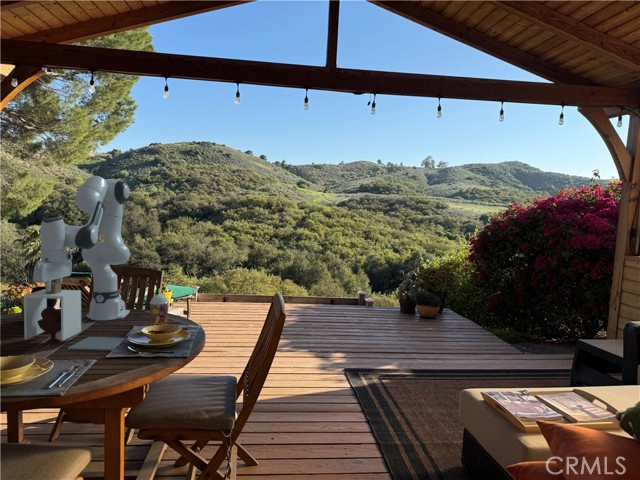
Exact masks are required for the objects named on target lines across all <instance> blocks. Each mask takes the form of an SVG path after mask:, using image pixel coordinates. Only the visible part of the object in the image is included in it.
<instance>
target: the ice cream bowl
mask: <svg viewBox="0 0 640 480" xmlns="http://www.w3.org/2000/svg"><path fill="white" fill-rule="evenodd" d="M41 317H42V318H43V319H41V320H39V321H37V322H38V325H39V327H40V328H41V329H42V330H43V331H45V332H47V334H49V335H50V339H47V340H46V341H45V344H46V345H57V344H60V343H61V342H62V340H61V339H60V338H58V337H57V336H56V335H57V333H59V332H60V331H61V309H56V308H55V306H54V307H47V308H45V309H44V310H43V311H42V312H41Z"/></svg>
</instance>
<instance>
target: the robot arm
mask: <svg viewBox="0 0 640 480" xmlns="http://www.w3.org/2000/svg"><path fill="white" fill-rule="evenodd" d="M130 193H131V192H130V186H129V184H128V183H127V182H125V181H122V180H116V179H105V178H104V177H102V176H99V175H92V176H90V177H88V178H87V179H86V180H85V181H84V182H83V183H82V185H81V186H80V187H79V189H78V191H77V192H76V194H75V196H74V202H75V205H76V207H77V208H78V209H80V210H81V212H84V213H86V214H89V218H88V221H87V223H86V224H84V225H70V224H67V223H65V220H64V219H63V218H62V217H47V218H44V219H43V220H42V221H41V223H40V227H39V228H40V230H39V240H40V244H41V245H40V248H39V250H40V251H39V255H40V256H39V257H40V259H38V260H37V262H36V263H35V265H34V267H33V279H32V280H33V281H34V283H37V284H38V283H40V284H41V283H43V286H45V287H46V291H47V292H50V291H52V290H53V287H51V284H50V283H51V282H52V281H54V280H55V282H58V283H61V284H62V283H63V278H65V277H66V278H67V277H69V276H71V275H72V272H73V270H72V269H73V263H72V260H73V254H72V253H69V252H67V251H66V248H70V249H71V248H72V249H73V248H74V249H77V248H78V249H82V250H81V258H82V259H83V260H84V261H85V262H86V263H87V264H88V265H89V266H88V267H89V269H90V270H91V273H92V277H93V291H92V300H91V301H90V303H89V313H88V314H87V315H86V318H89V319H90V320H93V321H110V320H111V321H113V320H117V319H124V318H125V317H126V316H128V315H129V313H130V311H131V310H130V309H126V302H125V301H124V300H123V299H122V298H121V297H120V294H121V292H122V291H121V290H122V289H118V275H117V274H116V273H115V272H114V270H112V268H111V265H114V266H116V265H117V266H119V265H122V264H125V263H127V262H128V261H129V259H130V257H131V251H130V249H129V248H128V246H127V245H126V244H125V243H124V241H123V238H122V224H123V217H124V205H123V204H124V203H125V202H126V201H127V200H128V199H129V197H130ZM99 234H100V235H101V236H102V238H103V242H98V240H99Z"/></svg>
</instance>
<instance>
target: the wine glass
mask: <svg viewBox="0 0 640 480" xmlns="http://www.w3.org/2000/svg"><path fill="white" fill-rule="evenodd" d="M44 289H46V287H45V285H43V286H34V287H32V288H31V292H30V293H34V292H37V291H41V290H44ZM57 302H58V299H52V298H47V307H54V308H55V306H56V305H57ZM45 334H48V333H47V332H42V333H40V334H39V335H45Z"/></svg>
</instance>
